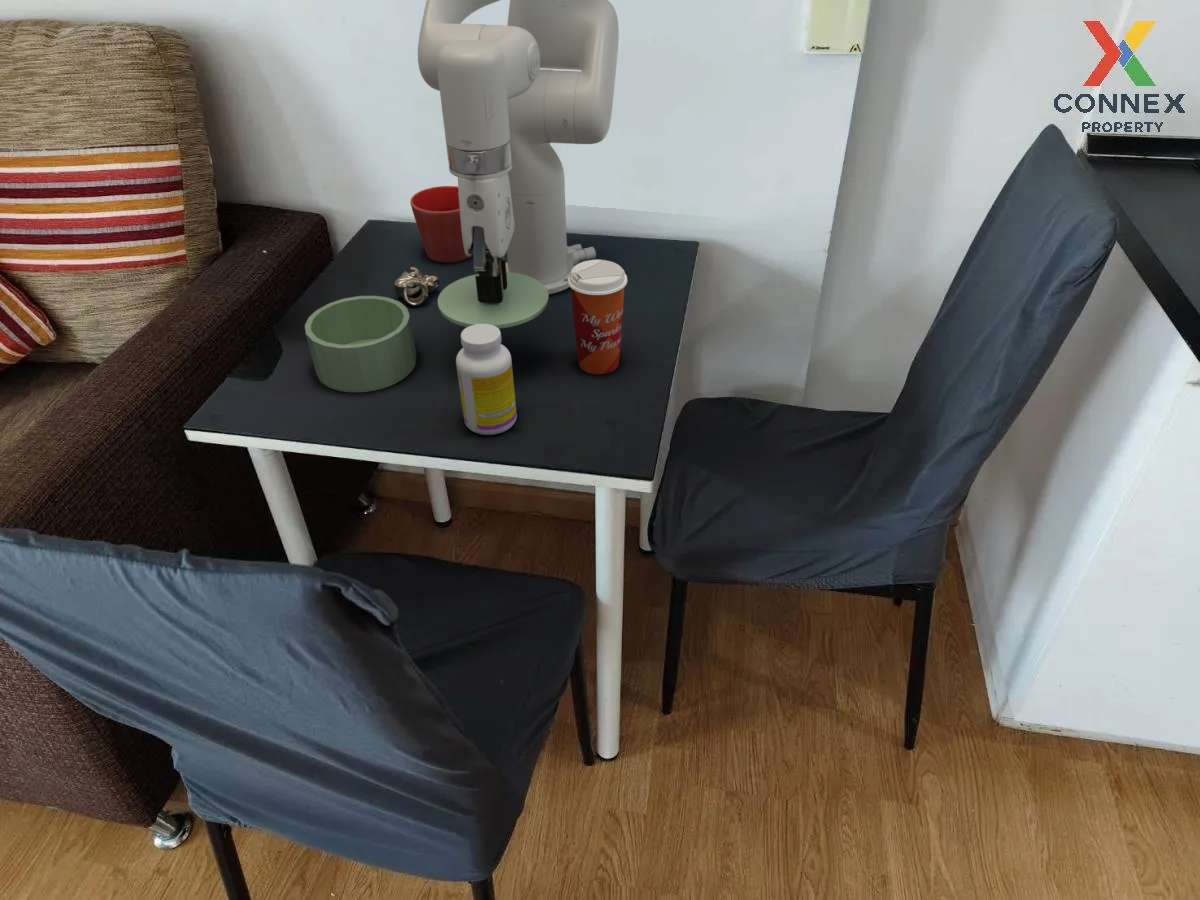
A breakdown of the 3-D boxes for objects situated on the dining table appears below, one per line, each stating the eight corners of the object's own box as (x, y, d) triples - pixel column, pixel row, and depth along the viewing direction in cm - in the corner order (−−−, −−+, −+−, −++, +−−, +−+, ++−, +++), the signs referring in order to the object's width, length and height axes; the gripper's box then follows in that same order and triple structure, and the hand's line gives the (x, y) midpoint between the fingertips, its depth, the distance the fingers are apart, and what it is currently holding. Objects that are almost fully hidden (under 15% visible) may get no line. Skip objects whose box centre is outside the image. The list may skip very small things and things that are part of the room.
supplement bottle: (528, 419, 109) (521, 331, 101) (490, 444, 105) (479, 355, 97) (491, 399, 112) (482, 313, 104) (453, 423, 109) (440, 335, 100)
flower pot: (492, 243, 149) (487, 189, 142) (464, 271, 141) (457, 215, 134) (437, 235, 151) (430, 181, 145) (406, 262, 143) (397, 206, 137)
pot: (368, 329, 127) (359, 286, 122) (436, 357, 121) (430, 313, 116) (295, 372, 118) (283, 327, 114) (364, 404, 112) (354, 358, 108)
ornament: (445, 303, 132) (442, 281, 130) (400, 311, 131) (397, 289, 128) (435, 280, 138) (432, 259, 136) (392, 287, 137) (389, 266, 134)
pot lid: (487, 270, 122) (483, 229, 118) (570, 297, 116) (569, 255, 112) (415, 312, 113) (408, 269, 109) (501, 345, 106) (497, 300, 103)
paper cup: (586, 384, 115) (584, 290, 106) (561, 357, 120) (557, 265, 111) (637, 369, 118) (639, 276, 109) (611, 343, 123) (610, 252, 114)
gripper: (499, 182, 95) (511, 327, 107) (521, 133, 108) (530, 267, 120) (432, 181, 96) (451, 325, 107) (462, 132, 109) (476, 266, 120)
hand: (492, 293), depth 113 cm, fingers closed on pot lid, 2 cm apart
